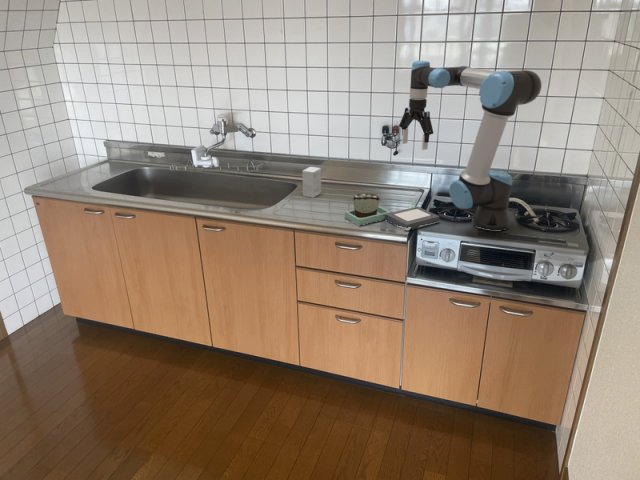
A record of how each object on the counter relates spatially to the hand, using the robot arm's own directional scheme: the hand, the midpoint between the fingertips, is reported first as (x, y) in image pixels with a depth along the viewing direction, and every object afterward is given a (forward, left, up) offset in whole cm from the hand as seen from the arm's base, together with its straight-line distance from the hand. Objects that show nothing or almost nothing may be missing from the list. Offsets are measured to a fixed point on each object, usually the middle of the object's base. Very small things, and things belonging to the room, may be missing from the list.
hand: (414, 146), depth 225 cm
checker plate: (-20, +16, -25) cm, 35 cm away
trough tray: (-7, +30, -27) cm, 41 cm away
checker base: (-20, +16, -27) cm, 37 cm away
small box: (+33, +35, -27) cm, 55 cm away
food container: (-5, +30, -26) cm, 40 cm away
